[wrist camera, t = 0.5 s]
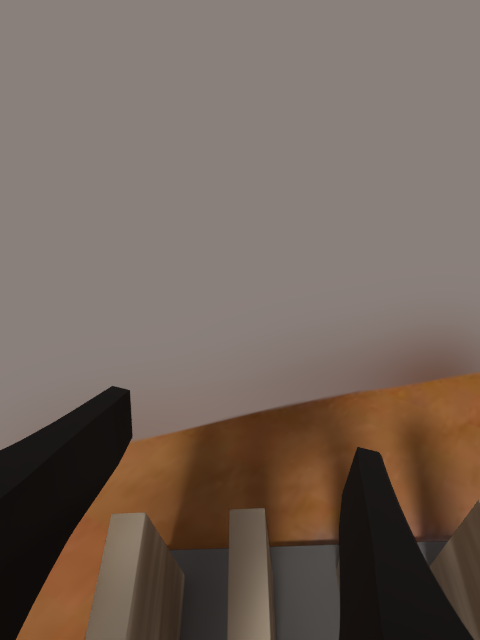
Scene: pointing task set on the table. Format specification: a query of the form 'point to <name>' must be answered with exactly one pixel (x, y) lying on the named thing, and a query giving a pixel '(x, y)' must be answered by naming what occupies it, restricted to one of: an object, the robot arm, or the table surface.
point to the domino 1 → (136, 585)
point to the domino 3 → (462, 571)
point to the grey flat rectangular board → (289, 591)
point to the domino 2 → (250, 577)
